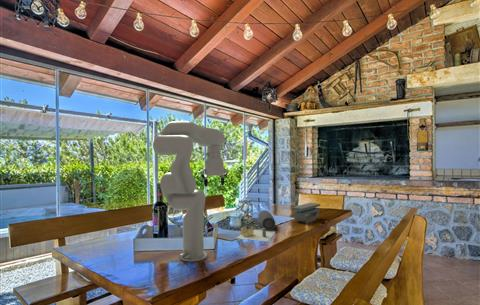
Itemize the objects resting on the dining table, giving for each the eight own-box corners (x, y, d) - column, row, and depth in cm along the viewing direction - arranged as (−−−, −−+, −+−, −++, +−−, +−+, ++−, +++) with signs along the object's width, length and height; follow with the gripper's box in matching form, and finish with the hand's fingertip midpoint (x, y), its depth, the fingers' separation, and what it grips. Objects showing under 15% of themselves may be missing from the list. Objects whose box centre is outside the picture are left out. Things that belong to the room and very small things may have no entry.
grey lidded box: (310, 217, 218) (310, 202, 218) (320, 218, 212) (320, 203, 212) (291, 222, 200) (291, 207, 200) (301, 224, 194) (301, 208, 195)
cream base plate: (267, 243, 153) (267, 232, 153) (235, 240, 159) (235, 229, 160) (275, 234, 172) (275, 224, 172) (247, 231, 178) (247, 221, 178)
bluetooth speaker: (257, 224, 198) (257, 209, 198) (270, 223, 198) (270, 209, 198) (261, 233, 175) (260, 216, 175) (276, 232, 175) (276, 216, 175)
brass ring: (255, 235, 164) (255, 228, 164) (244, 237, 161) (244, 230, 161) (249, 232, 170) (249, 225, 170) (239, 234, 167) (239, 227, 167)
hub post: (248, 235, 164) (248, 226, 164) (244, 235, 165) (244, 226, 165) (250, 234, 166) (250, 225, 166) (245, 234, 167) (245, 225, 167)
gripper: (201, 155, 155) (201, 187, 155) (230, 155, 162) (231, 185, 162) (197, 155, 162) (197, 186, 162) (225, 155, 169) (225, 184, 169)
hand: (214, 185), depth 162 cm, fingers open, 9 cm apart
